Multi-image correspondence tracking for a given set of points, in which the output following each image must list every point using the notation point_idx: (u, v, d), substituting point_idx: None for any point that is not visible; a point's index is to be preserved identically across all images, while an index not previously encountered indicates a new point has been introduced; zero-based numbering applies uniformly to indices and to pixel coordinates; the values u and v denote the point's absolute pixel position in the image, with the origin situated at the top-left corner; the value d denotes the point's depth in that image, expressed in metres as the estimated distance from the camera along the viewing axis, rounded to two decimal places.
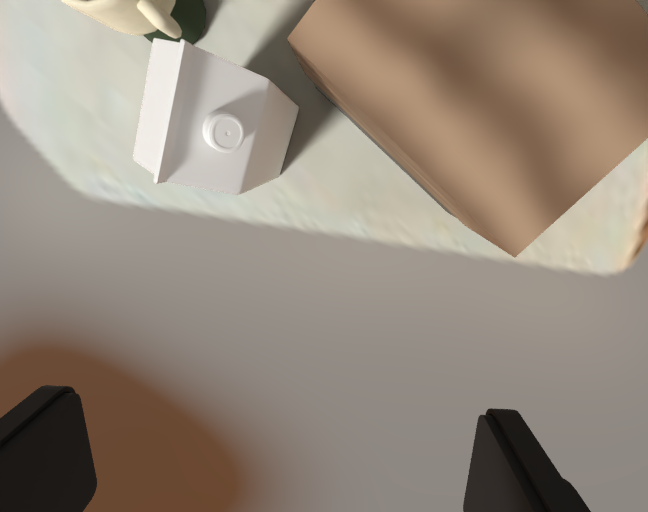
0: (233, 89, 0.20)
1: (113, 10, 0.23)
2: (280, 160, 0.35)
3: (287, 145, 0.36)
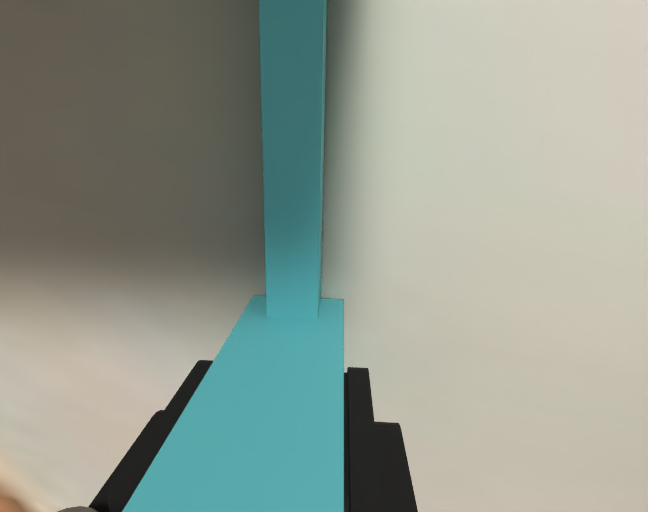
0: None
1: None
2: None
3: None
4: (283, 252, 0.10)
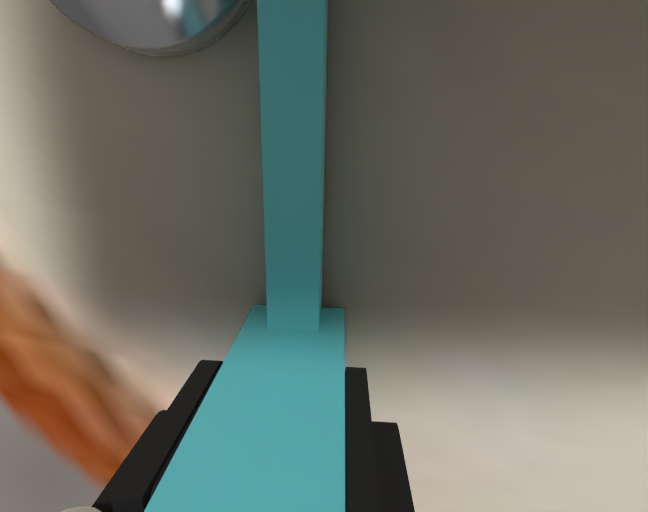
0: None
1: None
2: None
3: None
4: (283, 265, 0.10)
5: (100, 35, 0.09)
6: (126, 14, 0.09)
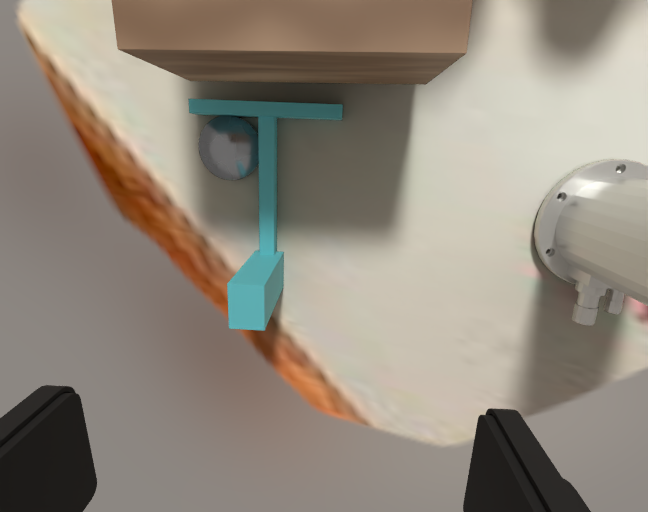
0: None
1: None
2: None
3: None
4: (264, 236, 0.37)
5: (220, 177, 0.36)
6: (227, 172, 0.36)
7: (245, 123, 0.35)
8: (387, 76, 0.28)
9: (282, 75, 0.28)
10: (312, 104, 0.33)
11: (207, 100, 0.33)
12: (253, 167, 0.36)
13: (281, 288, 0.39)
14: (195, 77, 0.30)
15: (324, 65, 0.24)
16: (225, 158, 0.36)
